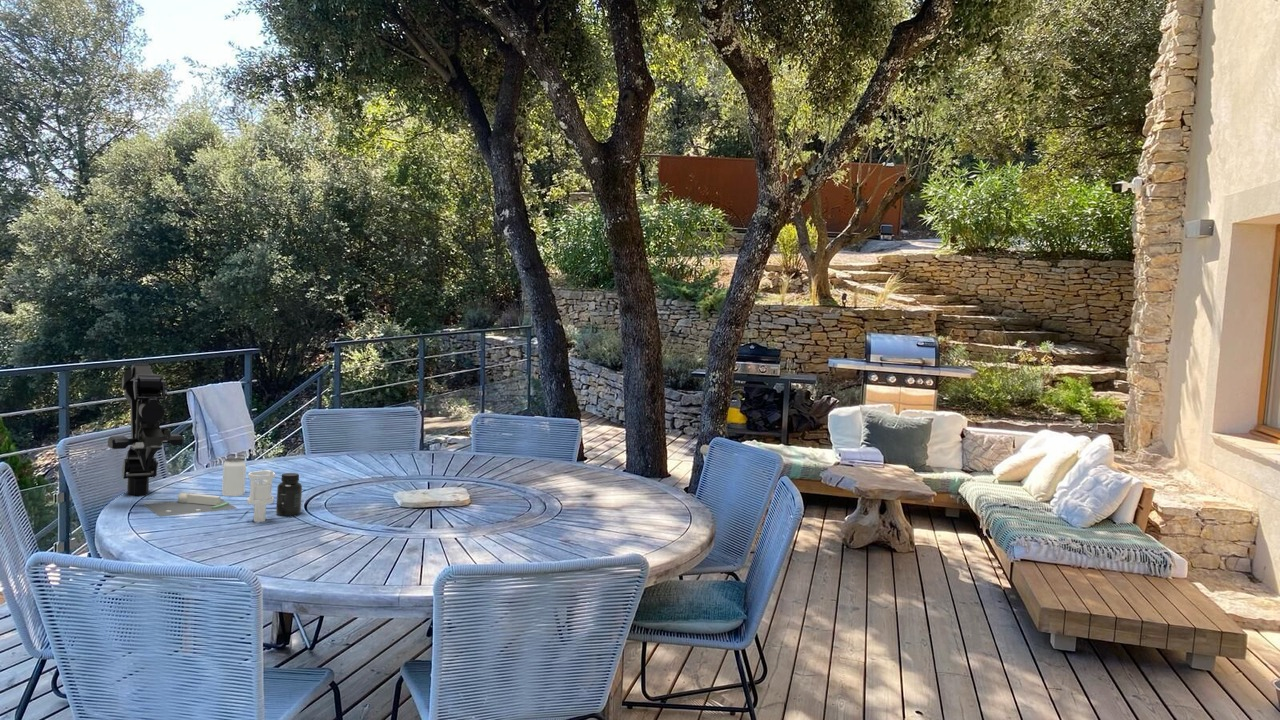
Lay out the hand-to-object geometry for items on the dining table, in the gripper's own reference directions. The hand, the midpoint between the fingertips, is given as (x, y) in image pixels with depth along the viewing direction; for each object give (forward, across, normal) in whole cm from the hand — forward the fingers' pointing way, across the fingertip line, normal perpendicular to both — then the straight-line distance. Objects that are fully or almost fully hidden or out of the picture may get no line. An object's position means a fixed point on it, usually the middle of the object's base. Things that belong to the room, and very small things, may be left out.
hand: (145, 470), depth 251 cm
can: (+11, +26, +2) cm, 28 cm away
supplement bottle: (+11, +32, -26) cm, 43 cm away
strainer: (+11, +22, -30) cm, 39 cm away
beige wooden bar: (+10, +13, -7) cm, 18 cm away
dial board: (+11, +10, -9) cm, 17 cm away
